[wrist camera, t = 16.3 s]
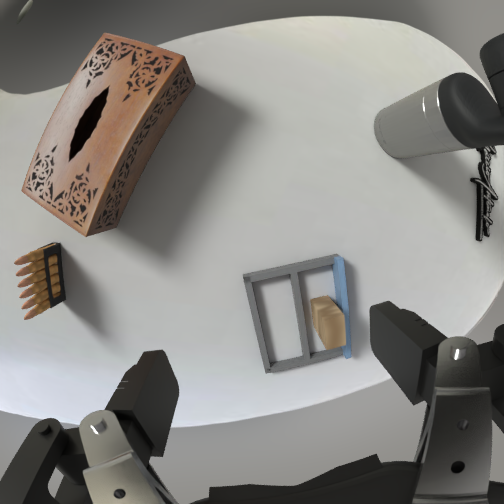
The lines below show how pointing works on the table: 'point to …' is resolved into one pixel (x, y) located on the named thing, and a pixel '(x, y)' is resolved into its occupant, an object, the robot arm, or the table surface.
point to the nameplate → (484, 193)
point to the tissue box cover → (106, 131)
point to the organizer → (301, 310)
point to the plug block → (328, 322)
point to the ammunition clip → (42, 279)
